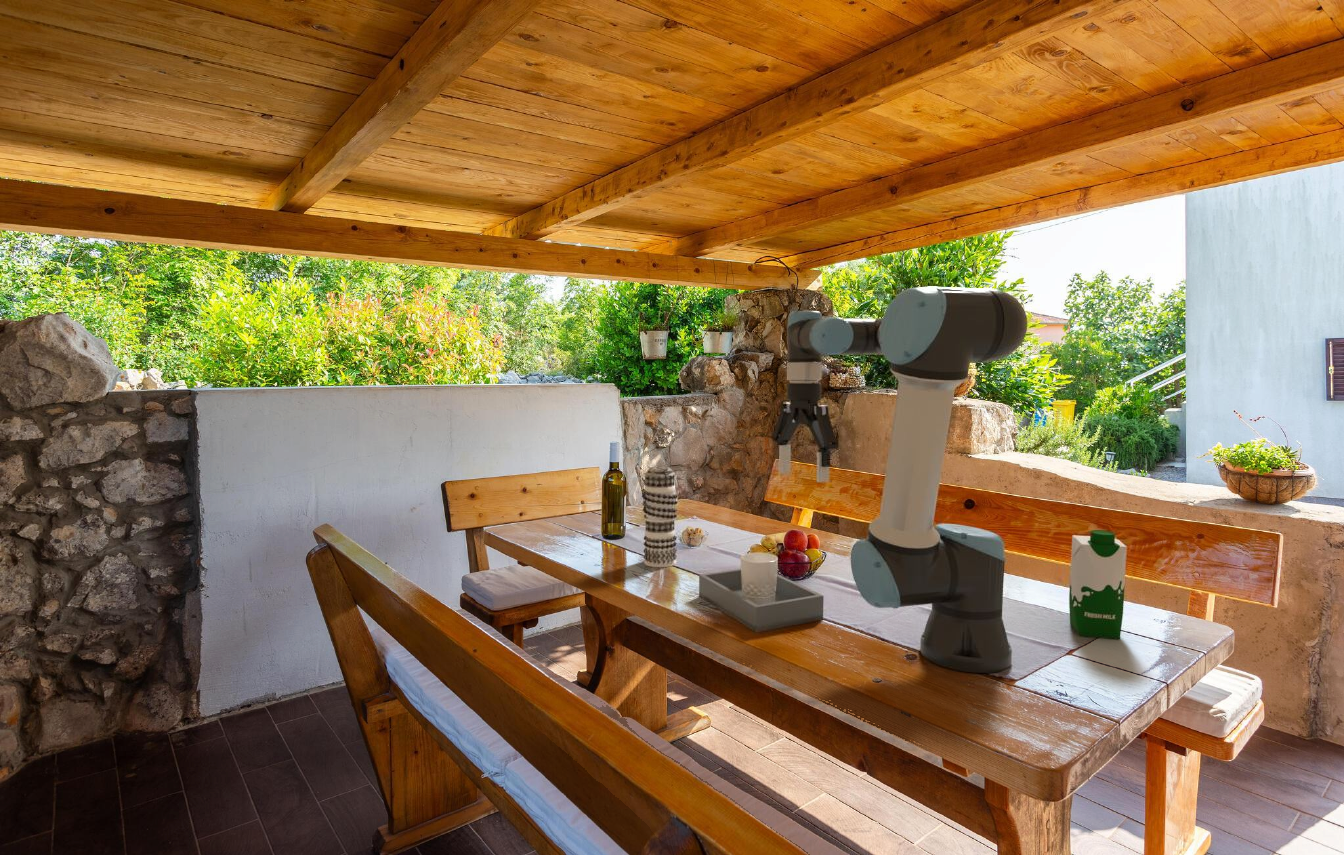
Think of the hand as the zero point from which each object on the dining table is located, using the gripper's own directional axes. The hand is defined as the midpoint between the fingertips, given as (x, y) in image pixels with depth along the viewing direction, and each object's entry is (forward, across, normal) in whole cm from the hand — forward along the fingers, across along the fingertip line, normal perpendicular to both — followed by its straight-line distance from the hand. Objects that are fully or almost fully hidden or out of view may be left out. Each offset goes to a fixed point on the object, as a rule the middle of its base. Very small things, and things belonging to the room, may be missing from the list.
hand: (803, 477), depth 165 cm
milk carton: (+27, -46, -36) cm, 64 cm away
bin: (+26, -4, +14) cm, 30 cm away
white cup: (+26, -4, +14) cm, 30 cm away
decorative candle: (+27, +38, +17) cm, 49 cm away
